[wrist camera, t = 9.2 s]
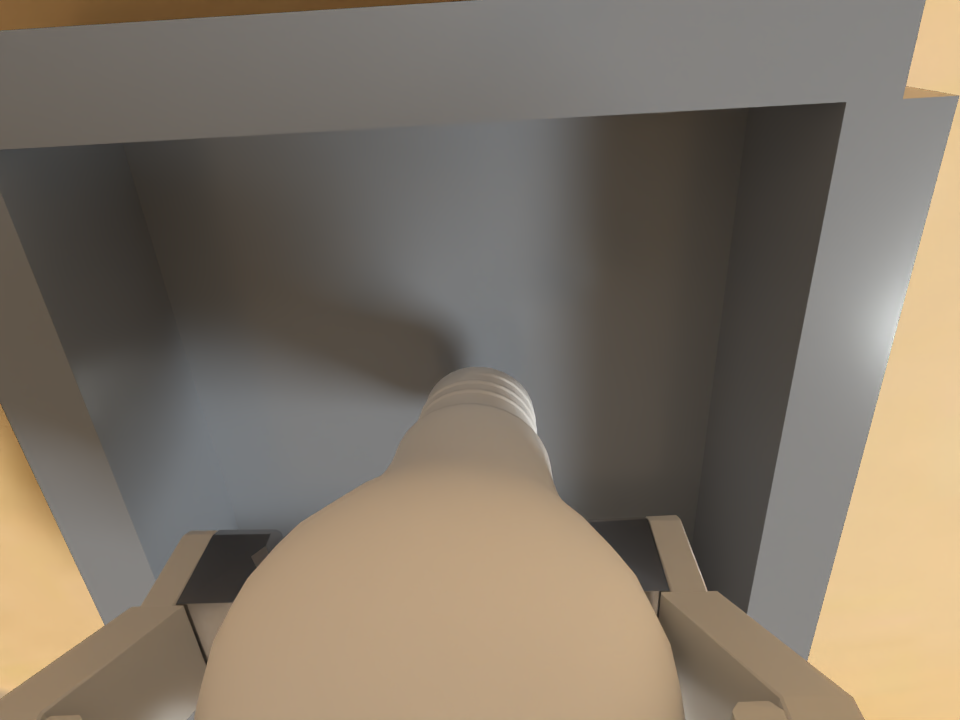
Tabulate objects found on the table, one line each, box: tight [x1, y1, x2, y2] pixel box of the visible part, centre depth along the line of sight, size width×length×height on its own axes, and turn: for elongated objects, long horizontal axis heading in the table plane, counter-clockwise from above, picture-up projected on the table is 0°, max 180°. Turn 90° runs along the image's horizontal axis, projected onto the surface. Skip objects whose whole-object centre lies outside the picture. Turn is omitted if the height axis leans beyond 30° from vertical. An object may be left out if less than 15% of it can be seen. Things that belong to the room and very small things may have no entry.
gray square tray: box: [0, 0, 959, 720], centre depth 15 cm, size 16×16×4 cm
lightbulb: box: [194, 367, 685, 720], centre depth 11 cm, size 6×6×11 cm
